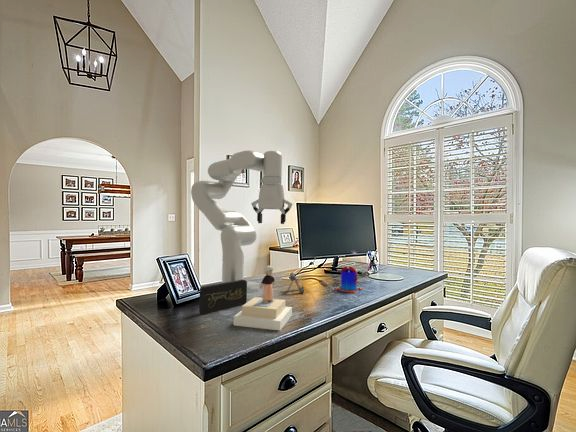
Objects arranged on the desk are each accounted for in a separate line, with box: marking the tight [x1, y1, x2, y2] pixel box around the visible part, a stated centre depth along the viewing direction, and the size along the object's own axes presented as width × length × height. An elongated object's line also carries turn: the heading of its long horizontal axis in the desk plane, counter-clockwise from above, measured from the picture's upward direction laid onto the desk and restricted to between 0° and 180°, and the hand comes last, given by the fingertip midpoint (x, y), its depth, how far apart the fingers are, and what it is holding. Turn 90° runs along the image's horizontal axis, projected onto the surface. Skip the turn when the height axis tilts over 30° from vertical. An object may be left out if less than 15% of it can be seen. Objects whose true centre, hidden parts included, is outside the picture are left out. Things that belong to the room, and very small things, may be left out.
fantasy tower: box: [333, 265, 364, 294], centre depth 158 cm, size 12×12×12 cm
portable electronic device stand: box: [286, 272, 305, 295], centre depth 152 cm, size 9×8×8 cm
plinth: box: [233, 296, 293, 331], centre depth 110 cm, size 16×16×6 cm
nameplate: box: [198, 279, 248, 315], centre depth 122 cm, size 21×2×10 cm, turn 138°
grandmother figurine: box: [259, 265, 276, 303], centre depth 111 cm, size 8×4×13 cm, turn 155°
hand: (271, 223), depth 129 cm, fingers open, 9 cm apart
